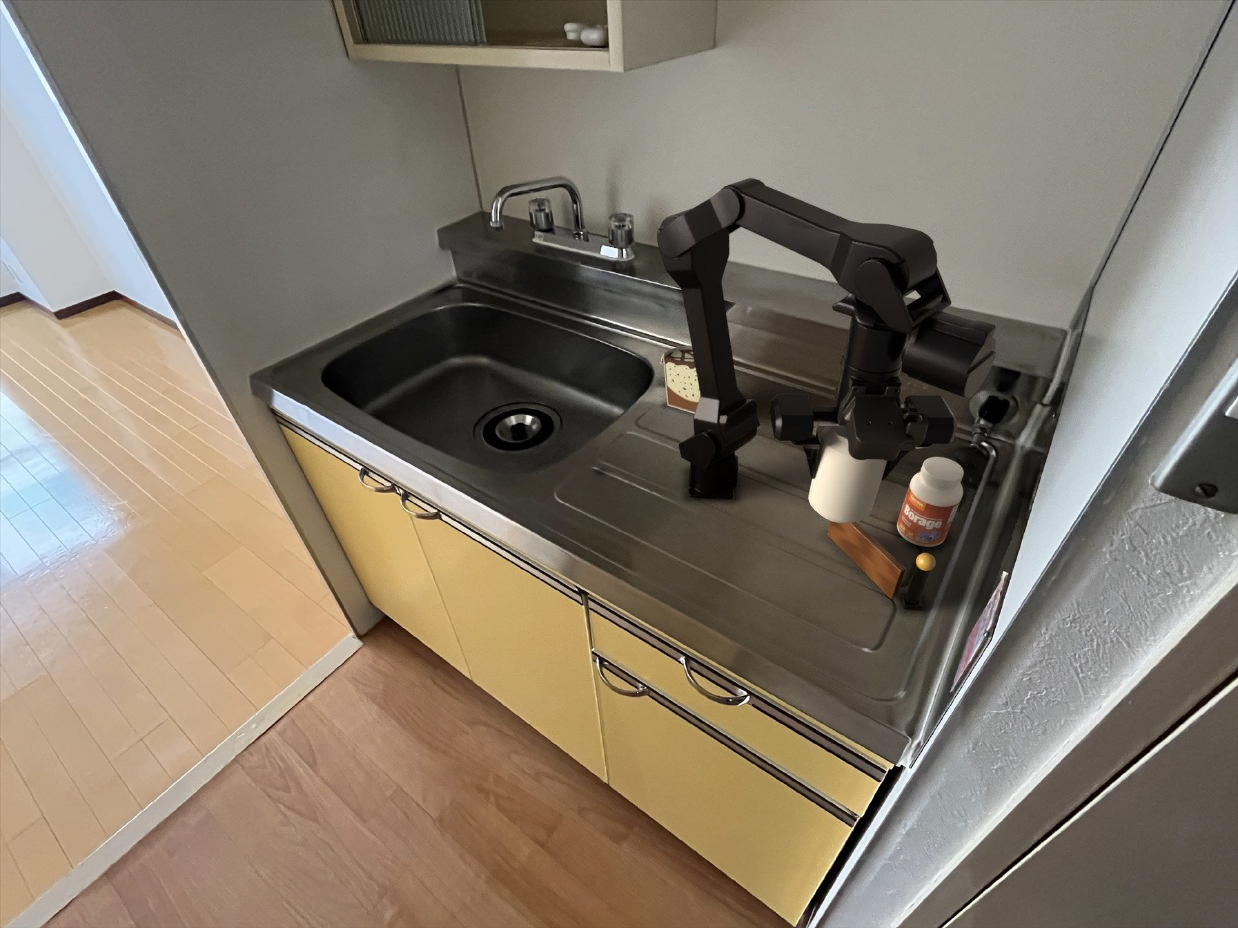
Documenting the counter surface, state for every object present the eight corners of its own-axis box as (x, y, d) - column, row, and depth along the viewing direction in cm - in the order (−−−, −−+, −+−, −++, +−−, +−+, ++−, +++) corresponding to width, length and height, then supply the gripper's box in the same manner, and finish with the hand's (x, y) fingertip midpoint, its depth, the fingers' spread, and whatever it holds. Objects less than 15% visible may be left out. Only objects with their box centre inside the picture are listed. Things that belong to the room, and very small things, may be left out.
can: (874, 531, 75) (900, 448, 67) (808, 524, 76) (826, 441, 69) (867, 490, 81) (890, 410, 73) (805, 484, 82) (822, 404, 74)
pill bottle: (888, 534, 86) (908, 470, 79) (906, 510, 90) (926, 446, 83) (935, 555, 83) (960, 490, 76) (952, 529, 86) (977, 465, 80)
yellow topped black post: (903, 609, 76) (921, 561, 71) (899, 596, 78) (916, 548, 73) (921, 610, 76) (940, 562, 71) (917, 597, 78) (935, 549, 73)
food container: (738, 405, 112) (743, 354, 106) (723, 422, 108) (727, 370, 102) (676, 387, 118) (677, 337, 111) (660, 403, 114) (660, 352, 107)
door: (827, 534, 86) (833, 507, 83) (836, 531, 86) (843, 503, 83) (891, 599, 77) (900, 571, 74) (901, 595, 77) (911, 566, 74)
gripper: (789, 400, 60) (771, 521, 70) (997, 403, 59) (950, 527, 68) (777, 345, 69) (763, 459, 79) (957, 346, 67) (920, 463, 77)
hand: (845, 477), depth 75 cm, fingers closed on can, 7 cm apart
